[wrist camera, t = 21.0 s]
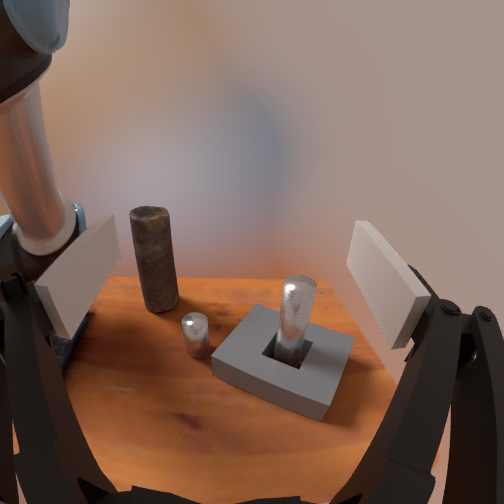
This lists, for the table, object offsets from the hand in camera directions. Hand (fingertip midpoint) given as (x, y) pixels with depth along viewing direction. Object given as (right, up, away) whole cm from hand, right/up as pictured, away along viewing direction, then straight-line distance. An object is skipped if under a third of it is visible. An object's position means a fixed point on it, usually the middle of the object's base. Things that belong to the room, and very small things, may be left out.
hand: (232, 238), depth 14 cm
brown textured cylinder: (-17, -11, +40) cm, 45 cm away
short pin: (-8, -17, +30) cm, 35 cm away
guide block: (+6, -19, +27) cm, 34 cm away
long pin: (+6, -19, +27) cm, 34 cm away
